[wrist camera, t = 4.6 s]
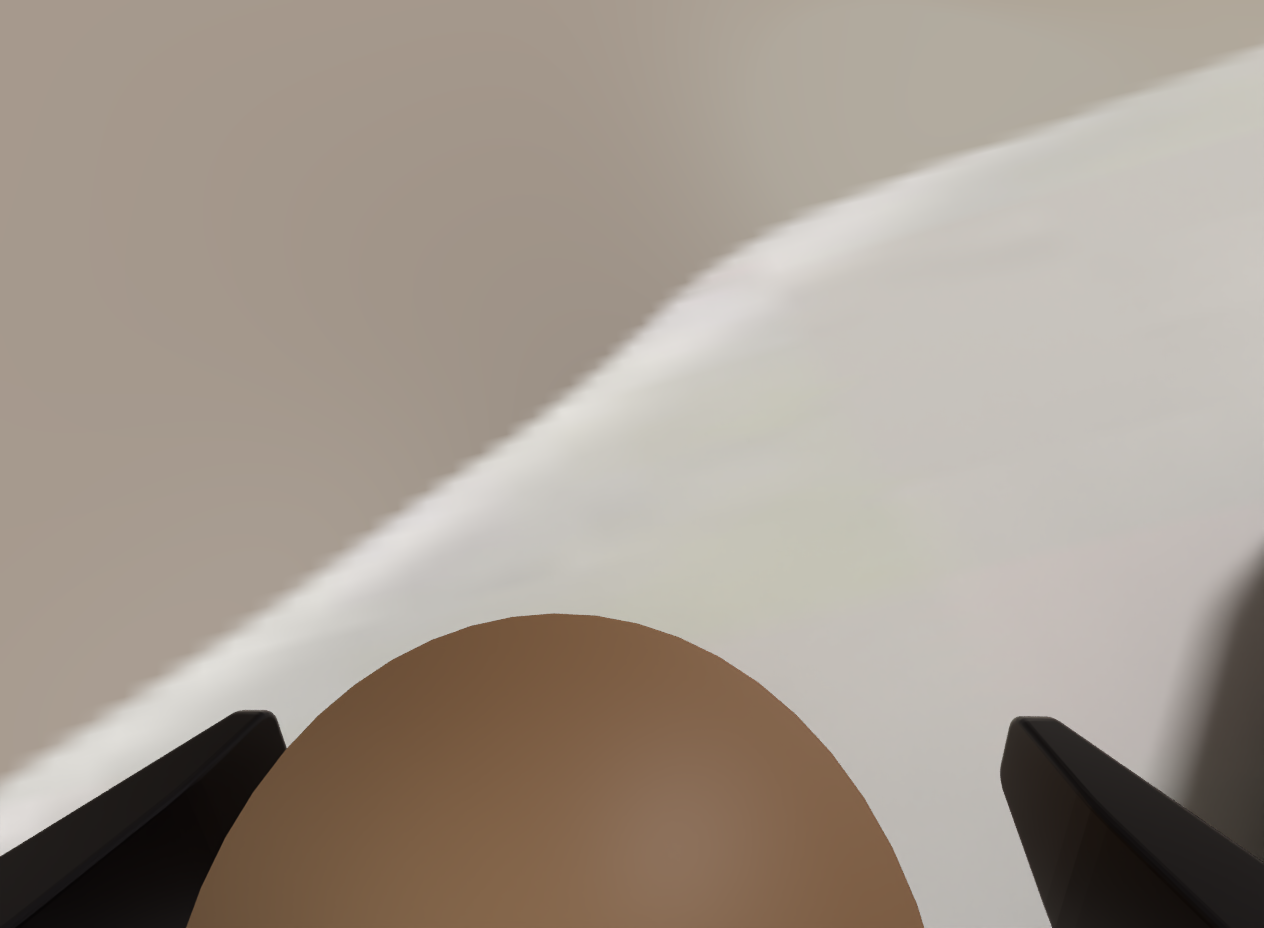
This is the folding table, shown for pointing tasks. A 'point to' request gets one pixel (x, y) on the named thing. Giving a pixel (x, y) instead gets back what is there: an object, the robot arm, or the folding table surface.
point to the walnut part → (556, 798)
